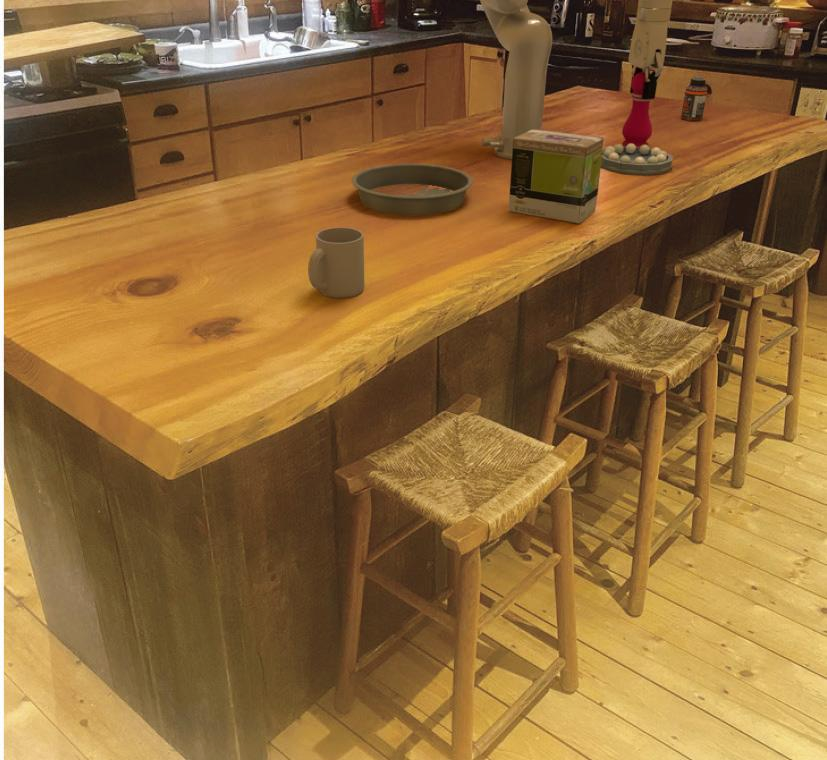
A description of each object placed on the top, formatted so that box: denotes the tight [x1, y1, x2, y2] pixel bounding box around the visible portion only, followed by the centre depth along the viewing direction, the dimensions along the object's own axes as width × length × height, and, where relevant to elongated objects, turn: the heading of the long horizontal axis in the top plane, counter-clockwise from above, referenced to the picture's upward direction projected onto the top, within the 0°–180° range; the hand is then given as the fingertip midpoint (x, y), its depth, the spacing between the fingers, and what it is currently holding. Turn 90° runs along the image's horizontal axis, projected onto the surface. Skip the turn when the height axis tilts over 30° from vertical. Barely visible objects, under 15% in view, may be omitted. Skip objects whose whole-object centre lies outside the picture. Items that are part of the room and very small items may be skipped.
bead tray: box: [600, 143, 674, 177], centre depth 195 cm, size 17×17×4 cm
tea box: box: [508, 129, 605, 224], centre depth 162 cm, size 15×10×15 cm
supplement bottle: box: [680, 76, 708, 122], centre depth 237 cm, size 6×6×11 cm
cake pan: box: [351, 163, 473, 217], centre depth 171 cm, size 25×25×4 cm
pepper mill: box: [621, 69, 653, 147], centre depth 204 cm, size 7×7×20 cm
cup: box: [307, 226, 365, 299], centre depth 127 cm, size 7×10×9 cm
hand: (642, 95), depth 202 cm, fingers closed on pepper mill, 6 cm apart
